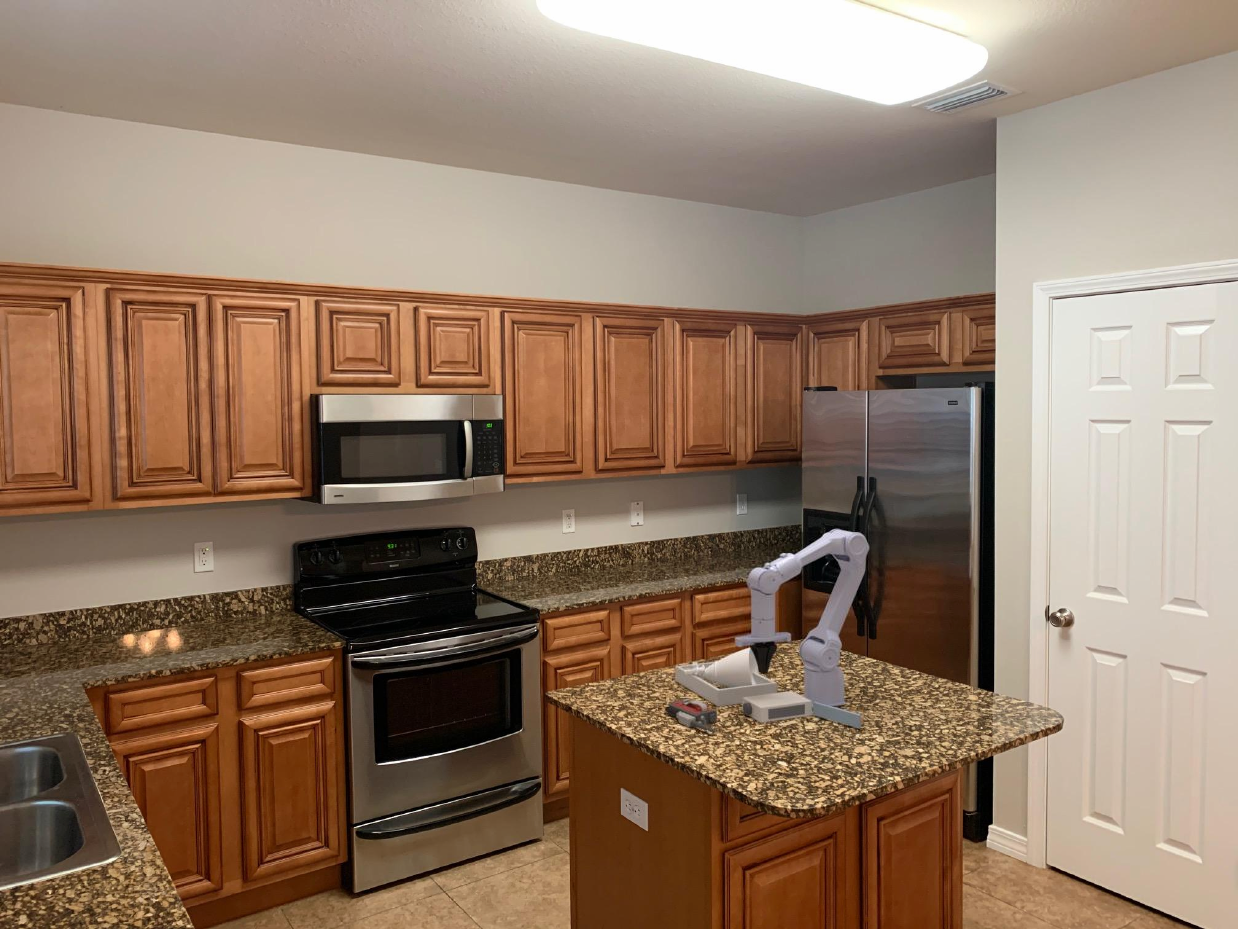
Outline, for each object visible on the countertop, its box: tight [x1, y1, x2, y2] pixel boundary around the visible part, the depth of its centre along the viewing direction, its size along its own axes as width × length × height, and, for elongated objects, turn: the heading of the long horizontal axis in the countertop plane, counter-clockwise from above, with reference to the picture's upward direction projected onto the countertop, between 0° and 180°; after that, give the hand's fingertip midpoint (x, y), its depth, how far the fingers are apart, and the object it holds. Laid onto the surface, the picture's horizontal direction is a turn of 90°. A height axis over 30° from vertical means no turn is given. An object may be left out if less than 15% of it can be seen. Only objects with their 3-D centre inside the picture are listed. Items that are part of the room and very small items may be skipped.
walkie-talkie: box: [664, 698, 718, 733], centre depth 220 cm, size 9×4×20 cm
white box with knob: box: [741, 690, 813, 724], centre depth 226 cm, size 15×9×4 cm, turn 112°
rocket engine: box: [684, 647, 759, 688], centre depth 245 cm, size 12×12×18 cm
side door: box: [812, 702, 864, 729], centre depth 219 cm, size 13×2×3 cm, turn 40°
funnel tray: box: [674, 661, 778, 707], centre depth 247 cm, size 17×25×4 cm
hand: (763, 673), depth 228 cm, fingers closed
